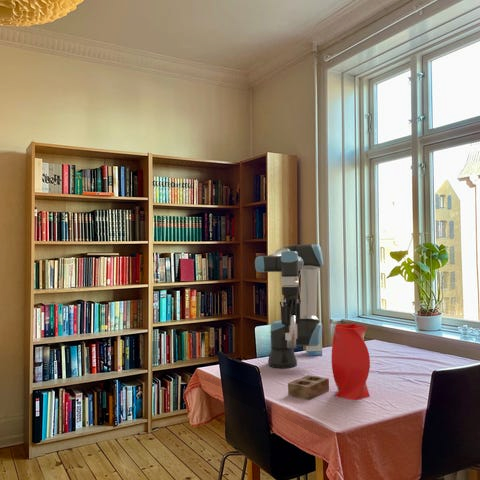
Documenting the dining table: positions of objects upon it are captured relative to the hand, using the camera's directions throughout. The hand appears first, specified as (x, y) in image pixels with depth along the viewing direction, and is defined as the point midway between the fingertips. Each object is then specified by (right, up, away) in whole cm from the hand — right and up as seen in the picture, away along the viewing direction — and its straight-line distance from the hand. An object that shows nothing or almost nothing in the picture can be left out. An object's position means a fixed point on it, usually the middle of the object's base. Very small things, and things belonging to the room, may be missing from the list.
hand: (291, 339), depth 203 cm
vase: (+23, -20, -14) cm, 33 cm away
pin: (0, -4, 0) cm, 4 cm away
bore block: (+6, -20, -11) cm, 24 cm away
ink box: (+20, -23, +64) cm, 71 cm away
